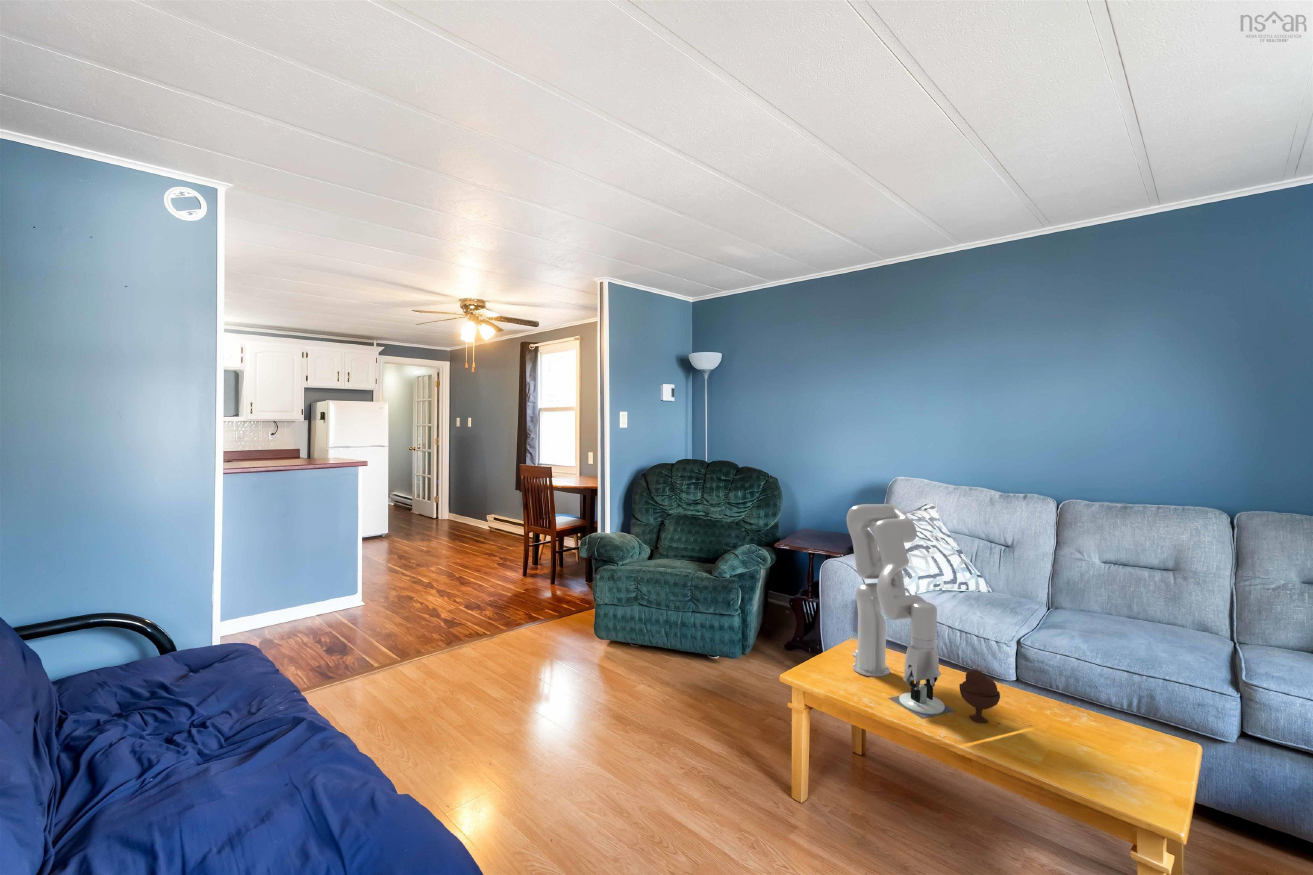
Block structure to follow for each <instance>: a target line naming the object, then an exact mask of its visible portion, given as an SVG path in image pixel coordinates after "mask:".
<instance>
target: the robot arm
mask: <svg viewBox="0 0 1313 875" xmlns="http://www.w3.org/2000/svg"><path fill="white" fill-rule="evenodd" d="M846 526H847V530H848V533H849V535H850V538H851V542H852V547H853V553H854V560H855V568H856V573H857V574H858V577H859V578H861V579H865V580H877V582H867V583H863V584H861V585H859V586H858V587H857V589H856V592H855V599H856V600H855V601H856V605H857V616H858V617H857V623H858V624H857V649H856V650H855V651H854V652H853V653H852V654H851V656H852V658H855V661H854V662H853V664H852V669H853V671H855V672H856V673H857V674H860V675H863V676H866V677H871V678H875V677H886V676H888V675H890V674H891V669H890V667H889V666H887V665H886V658H887V657H886V651H887V649H886V646H887V645H886V644H887V622H886V619H885V618H884V616H885V617H886V618H887V619H889V620H891V621H895V620H896V621H899V620H910V626H909V627H910V628H909V629H910V633H909V636H910V637H909V645H908V646H907V648H906V649H907V650H906V653H905V659H904V660H905V661H904V676H903V678H902V679H903V681H904V682H905V683H907V684H908V686H909V687H910V692H911V699H912V700H914V701H916V702H917V703H919V702H920V690H919V685H920V684H921V681H925V682H924V683H923V685H925V686H927V698H928V699H930V700H933V697H934V688H935V686H936V683H937V681H938V679H939V678H940V676H941V675H942V674H941V671H940V668H939V667H940V664H939V663H940V661H939V652H938V647H937V641H938V638H937V635H938V634H937V630H938V629H937V628H938V627H937V626H938V609H937V606H936V605H935V604H933V603H931V602H928V601H926V600H925V599H924V598H923V597H922V596H919V595H917V594H909V595H908V594H907V595H906V589H905V588H906V587H905V580H904V575H903V569H905V568H906V567H907V566H908V565H909V564H910V559H909V557H908V556H909V555H908V553H907V550H906V546H905V544H908V543H913V542H914V541H915V540H916V539H917V535H918V531H917V527H916V526H915V524H914V522H913V521H912V520H911V519H910V517H909V516H908V515H906V514H905V513H904V512H903V511H901V510H900V509H899V508H898V507H896V506H895V505H892V504H888V503H877V504H876V503H872V504H871V503H866V504H857V505H854V506H852V507H850V508H849V510H848V511H847V514H846ZM869 528H873V532H874V533H873V532H872V531H871V530H870V529H869ZM881 611H882V613H883V614H882V613H881ZM883 615H884V616H883Z"/></svg>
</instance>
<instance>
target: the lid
mask: <svg viewBox="0 0 1313 875" xmlns="http://www.w3.org/2000/svg"><path fill="white" fill-rule="evenodd" d="M919 690H920V702H919V703H917V702H916V701H914V700H912V699H911V691H910V692H909V691H908V692H904V693H902V694H900V695H899V696H900V697H899V701H900V703H901V704H902V705H903V706H904V707H905V708H907V709H909V710H911V711H914V712H917V713H922V714H929V715H935V714H940V713H942V712H944V709H945V706H944V704H945V703H944V702H943V701H942V700H940V699H939V698H937V697H935V696H933V700H930V699H928V698H927V686H925V685H924V684H921V683H920V685H919ZM905 708H904V709H905ZM907 709H906V710H907Z"/></svg>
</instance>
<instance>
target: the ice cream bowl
mask: <svg viewBox="0 0 1313 875" xmlns="http://www.w3.org/2000/svg"><path fill="white" fill-rule="evenodd" d="M958 686H959V687H958V688H959V692H960V696H961V698H962V699H963V700H964V701H965V702H966V704H968V705H970V706H971V707H973V708H974V709H975V713H974V714H972V715H969V717H968V719H969V720H970V721H972V722H974V723H976V724H977V723H978V724H983V725H985V724H988V723H989V719H987V718H986V717H984V716H983V711H984V710H987V709H988V710H989V709H992V708H994V707H995V706H997V705H998V703H999V702H1000V699H1001V693H1000V691H999V690H998V686H997V684H996V682H995V681H994V680H993V679H992V678H990V677H988V676H986V675H985V674H984V672H983V671H981V670H979V669H977V668H976V669H975V668H973V669H970V670H968V671H967V672H966V673H965V680H964V681H963V682H962V683H959V685H958Z"/></svg>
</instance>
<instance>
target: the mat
mask: <svg viewBox="0 0 1313 875" xmlns="http://www.w3.org/2000/svg"><path fill="white" fill-rule="evenodd" d="M899 697H900V695H896V696H891V697H888V698H887V699H889V700H890V701H892V702H893V703H895V704H897V705H899V706H900V707H902V708H903V709H905V710H907V711H908V712H910V713H912V714H914V715H915V716H917V717H918V718H920V719H922V720H923V719H924V720H925V719H928V718H932V717H938V716H941V715H946V714H951V713H955V712H957V710H956V709H954V708H953V707H951V706H949V705H947V704H945V703H943V704H944V706H945V709H944V712H942V713H940V714H935V715H929V714H922V713H917V712H914V711H911V710H909V709H907V708H905V707H904V706H903V705H902V704H901V703H900V701H899Z"/></svg>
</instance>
